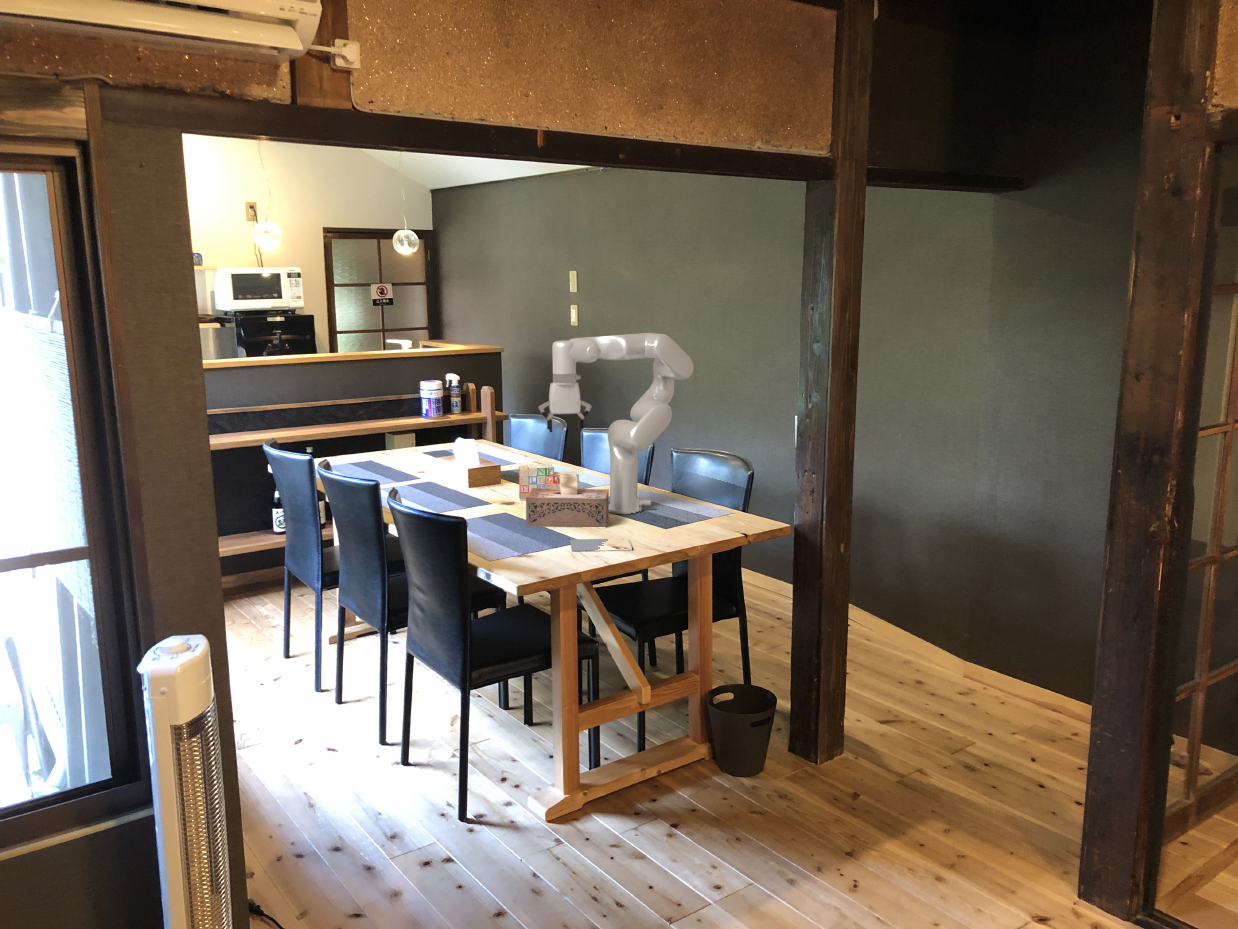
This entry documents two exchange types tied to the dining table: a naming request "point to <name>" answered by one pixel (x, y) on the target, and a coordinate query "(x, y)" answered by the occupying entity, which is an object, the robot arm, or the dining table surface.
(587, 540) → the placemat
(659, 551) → the dining table surface
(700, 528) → the dining table surface
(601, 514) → the tissue box cover
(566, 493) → the maple block
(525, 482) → the stack of blocks
